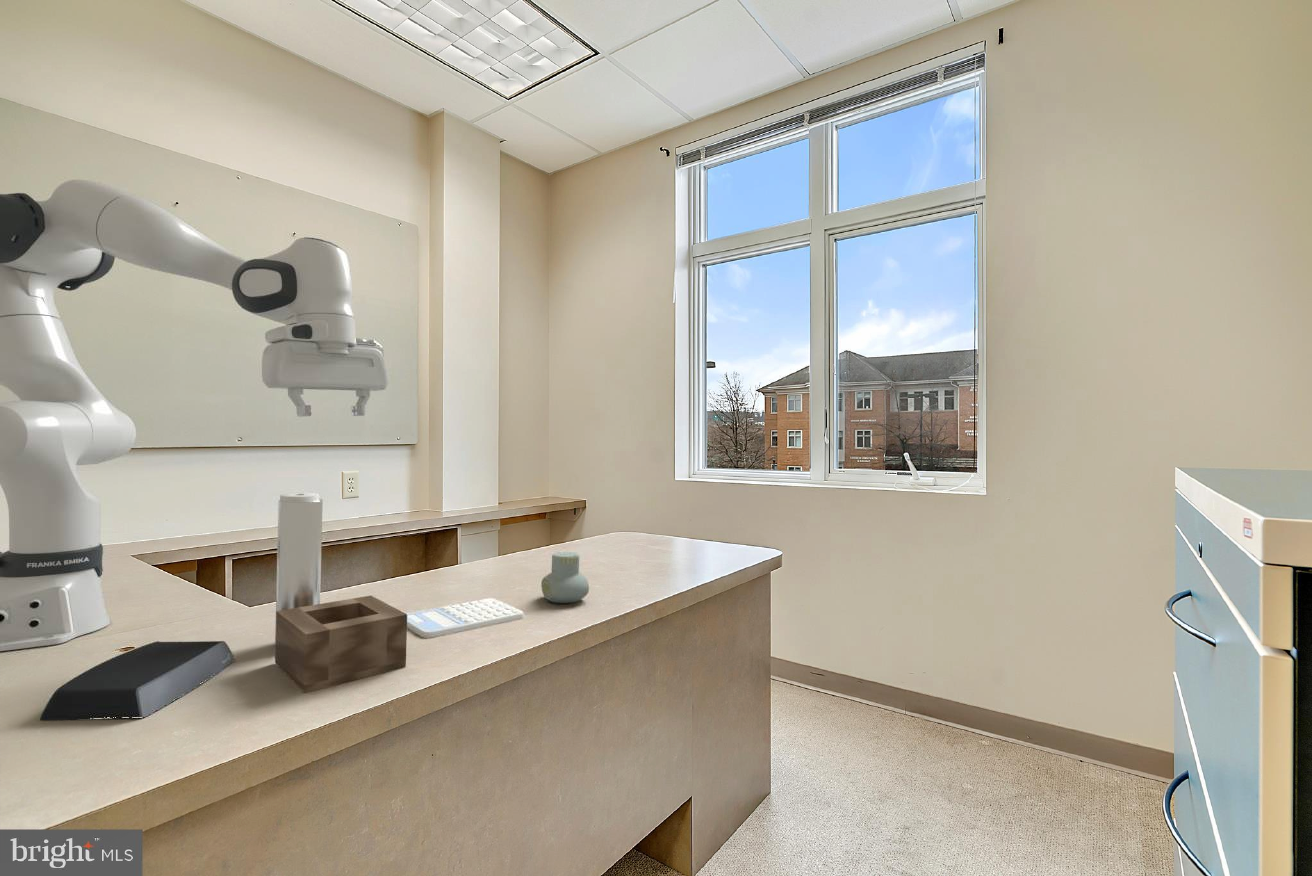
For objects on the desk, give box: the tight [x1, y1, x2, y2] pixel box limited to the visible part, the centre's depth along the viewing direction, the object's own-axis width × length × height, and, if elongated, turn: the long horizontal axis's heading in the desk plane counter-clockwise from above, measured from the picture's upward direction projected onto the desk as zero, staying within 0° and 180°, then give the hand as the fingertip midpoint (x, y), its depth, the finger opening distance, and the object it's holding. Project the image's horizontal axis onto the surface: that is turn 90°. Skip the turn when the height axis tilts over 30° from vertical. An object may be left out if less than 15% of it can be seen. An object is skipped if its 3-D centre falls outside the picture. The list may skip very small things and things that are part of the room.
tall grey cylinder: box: [274, 492, 323, 648], centre depth 101 cm, size 6×6×25 cm
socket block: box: [274, 595, 408, 693], centre depth 93 cm, size 14×14×8 cm
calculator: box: [405, 597, 525, 639], centre depth 117 cm, size 13×20×2 cm, turn 133°
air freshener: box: [540, 551, 590, 604], centre depth 132 cm, size 11×8×10 cm
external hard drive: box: [39, 640, 235, 721], centre depth 84 cm, size 13×19×4 cm
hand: (332, 416), depth 105 cm, fingers open, 8 cm apart
